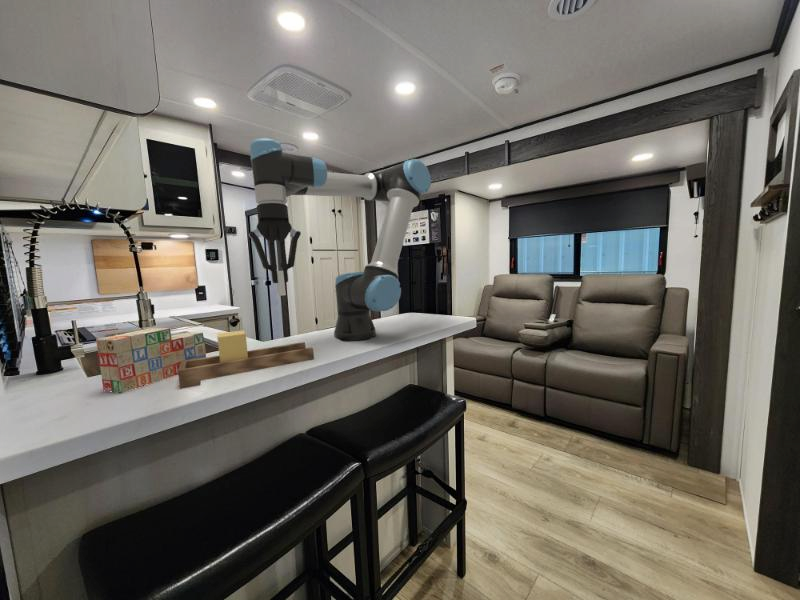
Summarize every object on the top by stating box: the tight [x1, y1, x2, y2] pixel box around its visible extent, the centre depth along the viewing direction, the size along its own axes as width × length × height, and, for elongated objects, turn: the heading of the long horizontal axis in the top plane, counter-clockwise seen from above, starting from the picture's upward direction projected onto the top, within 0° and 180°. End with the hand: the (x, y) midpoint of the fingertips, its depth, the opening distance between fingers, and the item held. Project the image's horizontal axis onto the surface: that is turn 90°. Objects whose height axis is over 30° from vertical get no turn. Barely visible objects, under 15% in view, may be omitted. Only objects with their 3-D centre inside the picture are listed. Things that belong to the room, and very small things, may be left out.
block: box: [216, 330, 248, 363], centre depth 80 cm, size 6×6×9 cm
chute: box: [177, 341, 315, 389], centre depth 82 cm, size 30×9×4 cm, turn 121°
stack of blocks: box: [95, 327, 207, 394], centre depth 80 cm, size 21×6×12 cm, turn 162°
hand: (281, 295), depth 86 cm, fingers closed
